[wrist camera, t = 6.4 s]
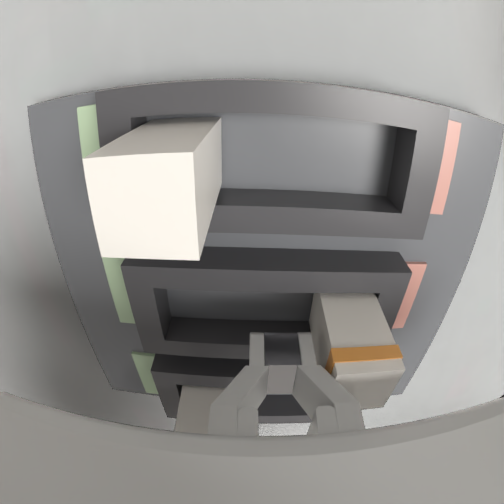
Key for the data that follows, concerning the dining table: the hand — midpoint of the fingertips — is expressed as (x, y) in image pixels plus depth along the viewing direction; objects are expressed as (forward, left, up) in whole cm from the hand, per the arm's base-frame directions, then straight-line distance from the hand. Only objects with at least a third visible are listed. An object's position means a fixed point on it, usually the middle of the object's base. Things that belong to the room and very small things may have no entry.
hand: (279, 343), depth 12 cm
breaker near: (+3, -7, -2) cm, 8 cm away
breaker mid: (-3, 0, -2) cm, 4 cm away
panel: (0, 0, -5) cm, 5 cm away
